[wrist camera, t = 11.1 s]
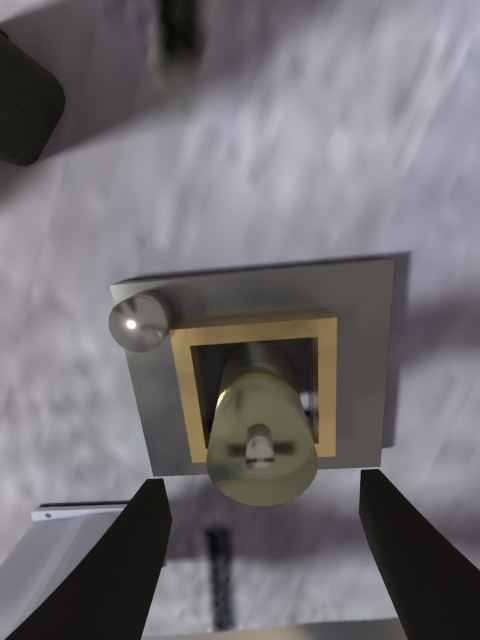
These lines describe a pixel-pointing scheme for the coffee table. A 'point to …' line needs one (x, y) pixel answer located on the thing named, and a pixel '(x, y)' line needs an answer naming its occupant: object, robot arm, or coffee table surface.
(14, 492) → the coffee table surface
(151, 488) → the robot arm
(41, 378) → the coffee table surface
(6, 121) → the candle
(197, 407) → the square peg board
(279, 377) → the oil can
